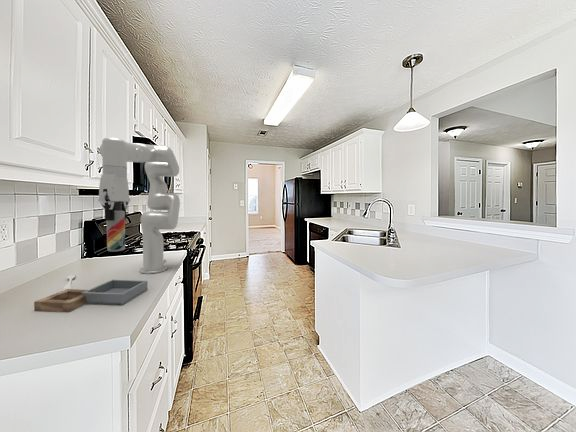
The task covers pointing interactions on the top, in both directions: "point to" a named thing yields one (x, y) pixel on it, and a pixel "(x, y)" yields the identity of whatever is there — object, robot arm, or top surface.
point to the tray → (115, 292)
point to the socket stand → (62, 301)
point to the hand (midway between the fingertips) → (115, 219)
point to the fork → (69, 282)
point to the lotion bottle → (116, 229)
